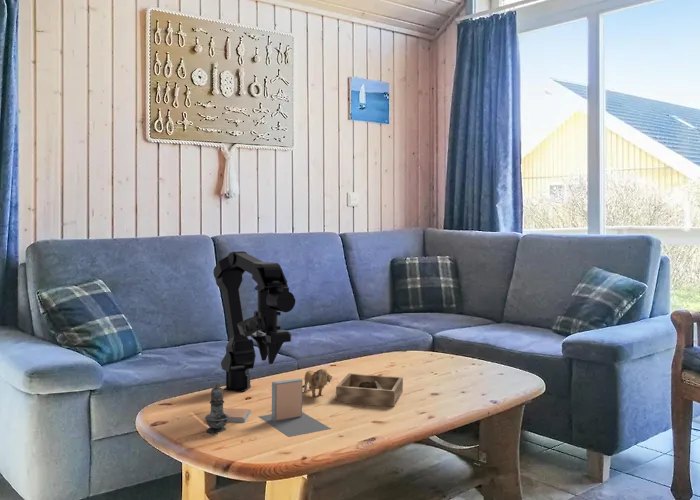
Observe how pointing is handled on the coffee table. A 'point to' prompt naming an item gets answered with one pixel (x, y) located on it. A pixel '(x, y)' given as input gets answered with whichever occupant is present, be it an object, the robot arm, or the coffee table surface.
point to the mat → (296, 425)
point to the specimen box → (369, 390)
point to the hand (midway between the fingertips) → (267, 362)
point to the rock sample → (370, 385)
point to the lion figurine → (316, 381)
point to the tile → (286, 399)
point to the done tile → (237, 414)
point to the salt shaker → (216, 412)
